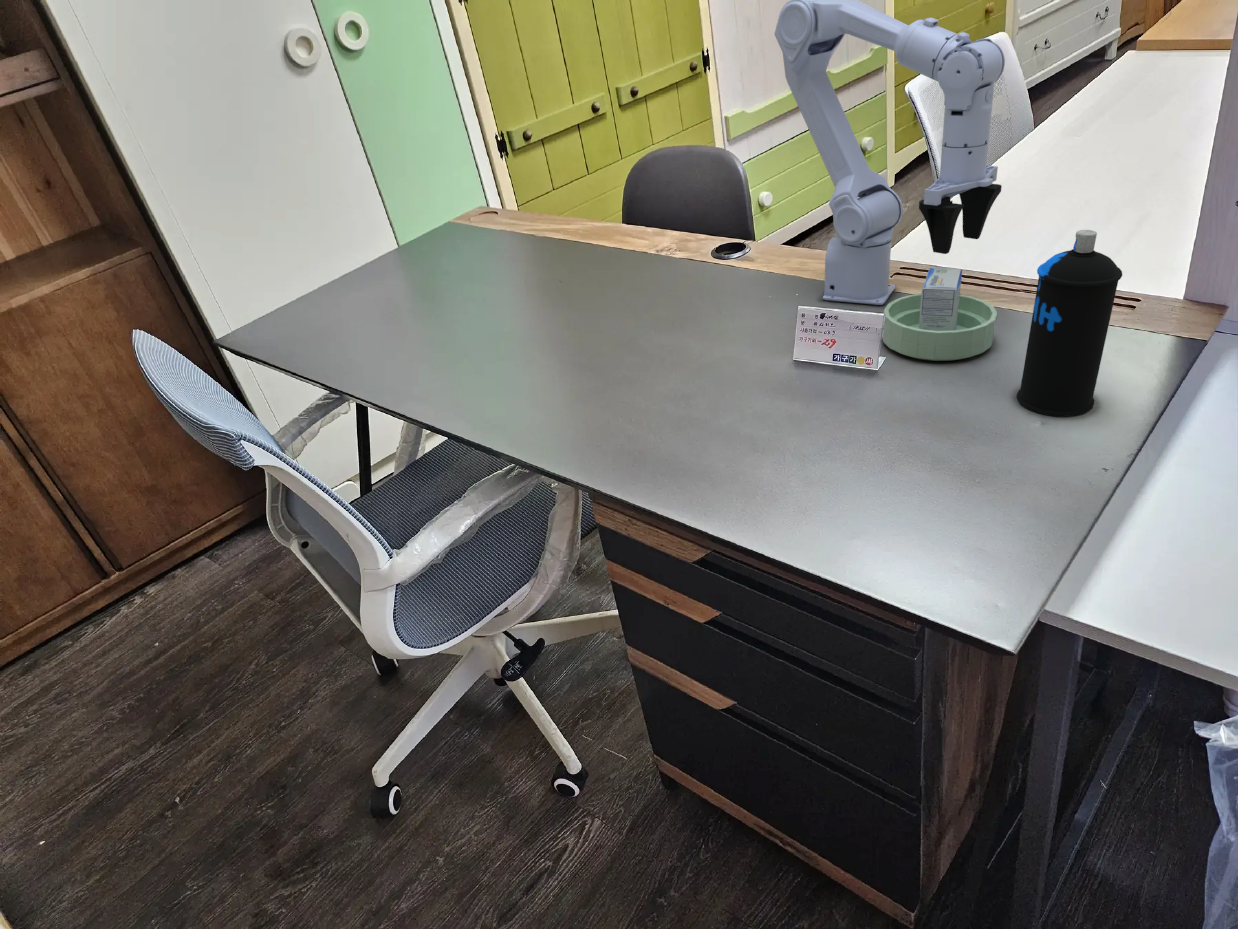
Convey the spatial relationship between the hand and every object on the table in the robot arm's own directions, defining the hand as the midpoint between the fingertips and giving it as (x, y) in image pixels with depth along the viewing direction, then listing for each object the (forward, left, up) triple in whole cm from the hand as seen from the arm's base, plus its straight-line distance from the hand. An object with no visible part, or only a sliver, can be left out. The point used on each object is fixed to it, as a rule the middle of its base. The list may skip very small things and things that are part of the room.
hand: (956, 244), depth 118 cm
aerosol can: (+16, -23, -11) cm, 30 cm away
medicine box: (0, -10, -10) cm, 14 cm away
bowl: (0, -10, -10) cm, 15 cm away
